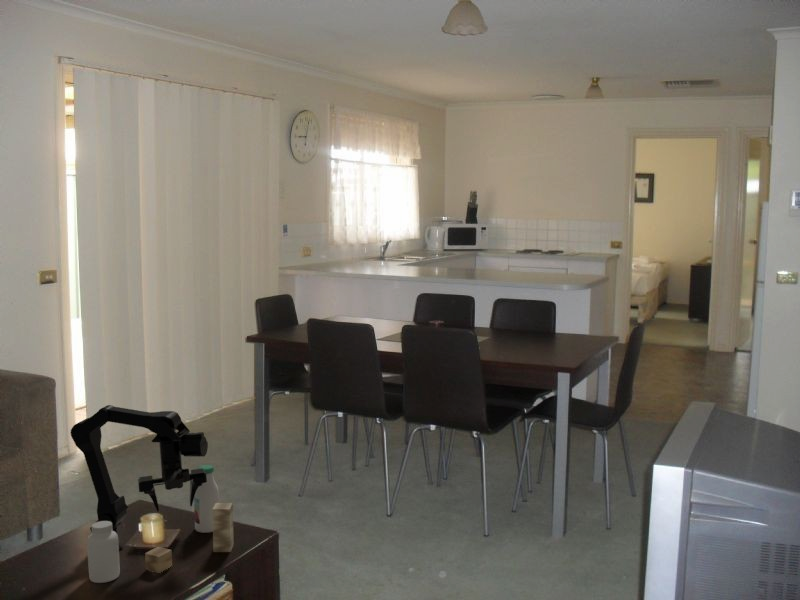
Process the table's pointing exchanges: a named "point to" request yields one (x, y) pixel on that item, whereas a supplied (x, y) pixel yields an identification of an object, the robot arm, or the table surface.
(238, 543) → the table surface
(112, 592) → the table surface
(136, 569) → the table surface
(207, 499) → the milk bottle
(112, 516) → the robot arm
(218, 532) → the maple block
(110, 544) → the pill bottle
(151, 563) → the oak cube
